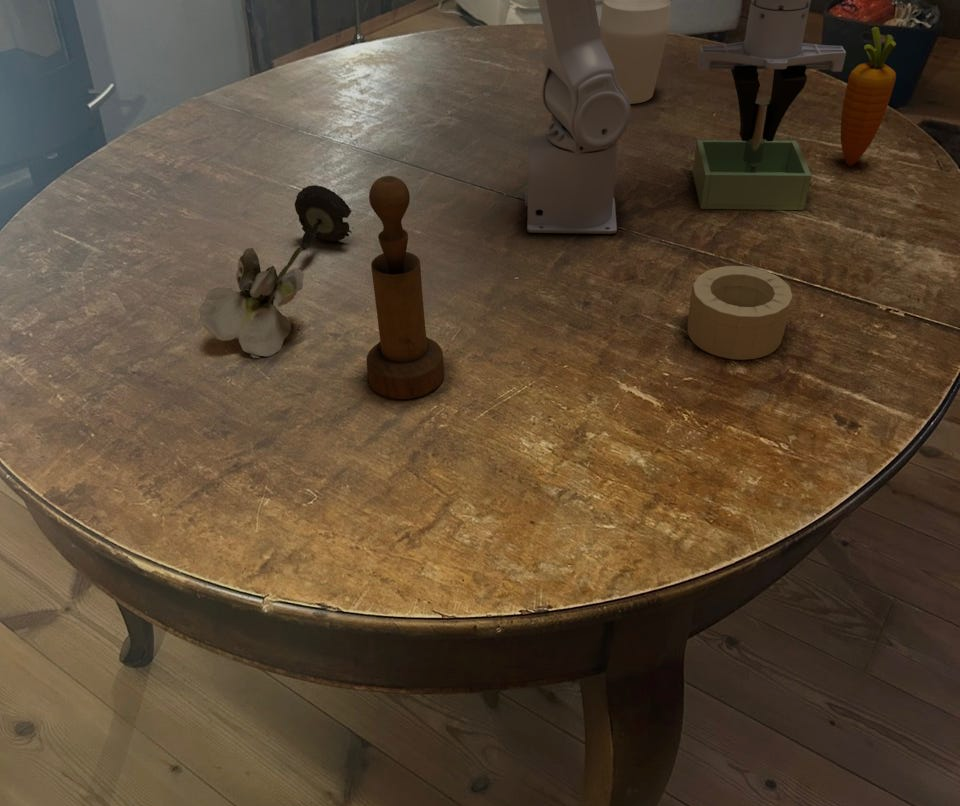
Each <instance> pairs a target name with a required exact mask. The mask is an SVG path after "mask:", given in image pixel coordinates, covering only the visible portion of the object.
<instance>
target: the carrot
mask: <svg viewBox="0 0 960 806" xmlns="http://www.w3.org/2000/svg"><path fill="white" fill-rule="evenodd" d="M870 31H871V38H872V42H873V45H872V44H869V43H868V44H865V45H863V49H864V50H865V53H866V55H867V57H868V59H869V61H870V62H862V63H859V64H858V65H857V66H856V67H854V69H852V70H851V71H850V74H849V75H848V78H847V83H846V84H847V85H846V89H845V92H844V98H843V104H842V108H841V116H840V117H841V119H840V143H841V150H842V151H841V152H842V155H843V157H844V161H845V163H846V164H847V166H848V167H852V166H854V165H855V164H856V163H857V162H858V161H859V159H860V158H861V157H862V156H863V155H864V153H865V152H866V151H867V150H868V148H869V147H870V145H871V143H872V142H873V141H874V138H875V136H876V134H877V132H878V131H879V129H880V126H881V124H882V122H883V119H884V117H885V116H886V112H887V110H888V107H889V103H890V100H891V97H892V93H893V90H894V87H895V84H896V79H897V72H895V70H894V69H893V68H891V67H890V66H888V64H885V62H886V60H887V58H888V57H889V55H890V54H891V52H892V50H893V49H894V48H895V47H896V45H897V43H896V41H894V40H893V39H894V37H893V36H892V35H891V34H886V35H885V39H884V44H883V47H882V37H881V32H880V27H877V26H874V27H872V28H871V29H870ZM882 48H883V49H882Z"/></svg>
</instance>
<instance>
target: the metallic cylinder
mask: <svg viewBox="0 0 960 806" xmlns="http://www.w3.org/2000/svg"><path fill="white" fill-rule="evenodd" d="M771 107H772V101H771V99H769V98H764V97H759V98H756V102H755V106H754V111H753V117H752V126H751V134H750V138H749V141H746V144H745V150H744V156H743V160H744V161H745V162H746V167H745V173H755V171H756V166H757V165H756V163H759V162H761V160H762V155H763V150H764V144H765V140H766V133H767V128H768V123H769V118H770V113H771Z"/></svg>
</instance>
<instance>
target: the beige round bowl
mask: <svg viewBox="0 0 960 806" xmlns="http://www.w3.org/2000/svg"><path fill="white" fill-rule="evenodd" d="M793 297H794V296H793V293H792V289H791V287H790V285H789V284H788V283H786V281H785V280H783V279H782V278H781V277H780V276H778V275H776V274H774V273H772V272H770V271H768V270H765V269H761V268H756V267H752V266H747V265H746V266H745V265H725V266H720V267H715V268H711V269H708V270H707V271H705V272H703V273H701V274H699V275H698V276H697V278H696V279H695V280H694V282H693V284H692V290H691V296H690V301H689V309H688V314H687V328H686V330H687V335H688V337H689V339H690V340H691V342H692V343H693V344H694V345H695V346H696V347H698V348H699V349H701V350H702V351H704V352H705V353H708V354H710V355H713V356H716V357H718V358H724V359H728V360H738V361H739V360H743V361H744V360H746V361H747V360H755V359H760V358H763V357H767V356H768V355H770V354H772V353H774V352H776V350H777V349H778V348H779V347H780V345H781V343H782V340H783V338H784V335H785V331H786V326H787V322H788V318H789V314H790V309H791V306H792V301H793Z"/></svg>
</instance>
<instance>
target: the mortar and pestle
mask: <svg viewBox="0 0 960 806" xmlns="http://www.w3.org/2000/svg"><path fill="white" fill-rule="evenodd" d="M368 201H369V205H370V208H372V210H373V212H374V213H375V214H376V216H377V217H378V218H379V220H380V221H381V225H382V226H383V228H382V229H383V230H382V231H381V232H379V234H378V235H377V239H378V243H379V245H380V248H381V250H382V253H381V254H379V255H377V256H374V258H373V259H372V260H371V264H370V267H371V268H370V269H371V277H372V284H373V292H374V301H375V309H376V317H377V326H378V335H379V342H378V343H376V344H375V345H374V346H372V347H371V349H370V350H369V351H368V352H367V355H366V368H367V377H368V383H369V385H370V387H371V389H372V390H373V391H374V392H375V393H377V394H379V395H380V396H383V397H386V398H390V399H395V400H409V399H416V398H419V397H423V396H426V395H427V394H429V393H431V392H432V391H434V390H436V389H437V388H438V387H439V386H440V385H441V384H442V383H443V380H444V378H445V363H444V352H443V350H442V347H441V346H440V344H439V343H438V342H436V341H435V340H433V339H432V338H429V337H427V329H426V320H425V319H426V318H425V308H424V296H423V283H422V282H423V281H422V270H421V269H422V268H421V259H420V258H419V257H418V256H417V255H415V254H414V253H411V252H408V251H407V249H408V243H409V234H408V232H407V230H405V229H404V228H403V224H402V220H403V218H404V216H405V215H406V213H407V210H408V208H409V205H410V201H411V196H410V191H409V188H408V186H407V184H406V183H405V182H404V181H403V180H402V179H401V178H399V177H397V176H393V175H385V176H384V175H383V176H381V177H379V178H377V179H376V180H375V181H374V182H373V183H372V184H371V187H370V188H369V193H368Z"/></svg>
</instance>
